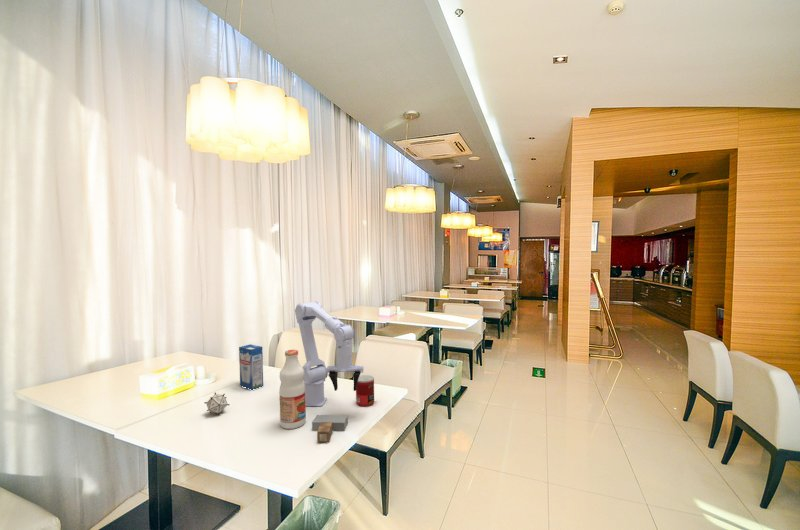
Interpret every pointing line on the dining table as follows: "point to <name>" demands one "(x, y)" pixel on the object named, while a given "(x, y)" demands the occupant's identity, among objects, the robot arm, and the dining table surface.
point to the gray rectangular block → (337, 421)
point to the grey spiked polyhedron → (216, 403)
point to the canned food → (365, 390)
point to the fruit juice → (292, 392)
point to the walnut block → (324, 432)
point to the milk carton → (251, 366)
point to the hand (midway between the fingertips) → (345, 389)
